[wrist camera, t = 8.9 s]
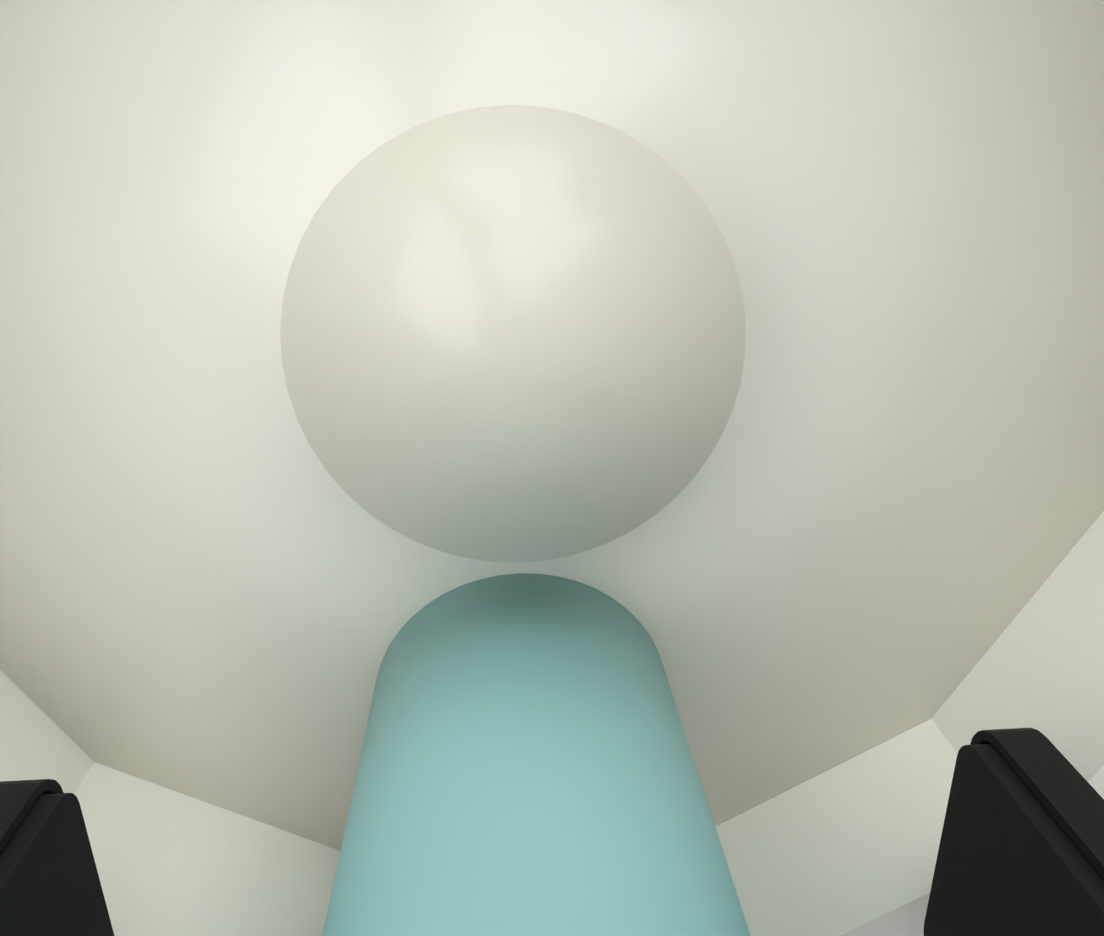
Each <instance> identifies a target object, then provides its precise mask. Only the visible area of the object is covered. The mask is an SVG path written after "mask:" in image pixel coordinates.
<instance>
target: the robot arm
mask: <svg viewBox="0 0 1104 936" xmlns="http://www.w3.org/2000/svg"><path fill="white" fill-rule="evenodd" d="M923 931H924V936H1104V799H1103V798H1102V797H1101V796H1100V795H1099V794H1098V793H1097V792H1096V790H1095V789H1094V788H1093V787H1092V786H1091V785H1090V784H1089V783H1088V782H1087V781H1086V780H1085V778H1084V777H1083V776H1082V775H1081V774H1080V773H1079V772H1078V771H1077V770H1076V769H1075V768H1074V767H1073V765H1072V764H1071V763H1070V762H1069V761H1068V760H1067V759H1066V758H1065V757H1064V756H1063V755H1062V753H1061V752H1060V751H1059V750H1058V749H1057V748H1056V747H1055V746H1054V745H1053V744H1052V743H1051V742H1050V740H1049V739H1048V738H1047V737H1046V736H1045V735H1043V734H1042V733H1041V732H1040V731H1039V730H1036V729H1033V728H1013V729H994V730H982V731H978V732H977V733H976V734H975V735H974V736H973V737H972V740H971V743H970V745H964V746H962V747H961V748H960V749H959V752H958V754H957V758H956V763H955V769H954V774H953V779H952V784H951V789H950V794H949V799H948V804H947V809H946V814H945V819H944V825H943V830H942V835H941V840H940V845H939V850H938V855H937V860H936V865H935V870H934V875H933V880H932V886H931V891H930V896H929V901H928V906H927V911H926V916H925V921H924V930H923ZM0 936H114V932H113V928H112V925H111V921H110V917H109V913H108V909H107V906H106V902H105V898H104V894H103V890H102V887H101V883H100V879H99V875H98V871H97V867H96V864H95V860H94V856H93V852H92V848H91V845H90V841H89V837H88V833H87V829H86V826H85V822H84V818H83V814H82V810H81V807H80V803H79V801H78V798H77V797H76V796H75V795H74V794H73V793H64V792H63V790H62V788H61V785H60V784H59V783H58V782H57V781H56V780H52V779H39V780H20V781H1V782H0Z"/></svg>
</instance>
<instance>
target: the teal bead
mask: <svg viewBox="0 0 1104 936" xmlns="http://www.w3.org/2000/svg"><path fill="white" fill-rule="evenodd" d="M323 936H751V935H750V932H749V929H748V926H747V923H746V920H745V917H744V914H743V911H742V908H741V905H740V901H739V898H738V895H737V892H736V889H735V886H734V883H733V880H732V877H731V874H730V871H729V867H728V864H727V861H726V858H725V855H724V852H723V849H722V846H721V843H720V840H719V837H718V834H717V830H716V827H715V824H714V821H713V818H712V815H711V812H710V809H709V806H708V803H707V800H706V797H705V793H704V790H703V787H702V784H701V781H700V778H699V775H698V772H697V769H696V766H695V763H694V760H693V756H692V753H691V750H690V747H689V744H688V741H687V738H686V735H685V732H684V729H683V726H682V723H681V719H680V716H679V713H678V710H677V707H676V704H675V701H674V698H673V695H672V692H671V689H670V686H669V682H668V679H667V676H666V673H665V670H664V667H663V664H662V661H661V658H660V656H659V653H658V650H657V648H656V646H655V644H654V642H653V640H652V639H651V637H650V635H649V633H648V632H647V631H646V629H645V628H644V627H643V626H642V624H641V623H640V622H639V620H638V619H637V618H636V617H635V616H634V615H633V614H632V613H631V612H629V611H628V610H627V609H626V608H625V607H624V606H622V605H621V604H620V603H618V602H617V601H616V600H614V599H613V598H612V597H610V596H608V595H606V594H604V593H603V592H601V591H599V590H597V589H595V588H593V587H590V586H588V585H585V584H583V583H580V582H578V581H574V580H570V579H566V578H563V577H559V576H552V575H544V574H526V573H517V574H507V575H498V576H493V577H488V578H484V579H479V580H476V581H473V582H470V583H467V584H464V585H462V586H459V587H457V588H455V589H453V590H451V591H449V592H447V593H444V594H442V595H441V596H439V597H438V598H436V599H435V600H433V601H431V602H430V603H428V604H427V605H425V606H424V607H423V608H422V609H421V610H419V611H418V612H417V613H416V614H415V615H414V616H412V617H411V618H410V619H409V621H408V622H407V623H406V624H405V625H404V626H403V627H402V628H401V629H400V631H399V632H398V633H397V635H396V636H395V638H394V639H393V641H392V642H391V644H390V645H389V647H388V649H387V651H386V653H385V655H384V658H383V660H382V662H381V665H380V669H379V672H378V675H377V679H376V684H375V689H374V693H373V698H372V703H371V708H370V712H369V717H368V722H367V727H366V731H365V736H364V741H363V746H362V750H361V755H360V760H359V765H358V770H357V774H356V779H355V784H354V789H353V793H352V798H351V803H350V808H349V812H348V817H347V822H346V827H345V831H344V836H343V841H342V846H341V851H340V855H339V860H338V865H337V870H336V874H335V879H334V884H333V889H332V893H331V898H330V903H329V908H328V912H327V917H326V922H325V927H324V932H323Z"/></svg>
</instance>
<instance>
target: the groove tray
mask: <svg viewBox="0 0 1104 936" xmlns="http://www.w3.org/2000/svg"><path fill="white" fill-rule="evenodd" d="M517 573H526V574H544V575H552V576H559V577H563V578H566V579H570V580H574V581H578V582H580V583H583V584H585V585H588V586H590V587H593V588H595V589H597V590H599V591H601V592H603V593H604V594H606V595H608V596H610V597H612V598H613V599H614V600H616V601H617V602H618V603H620V604H621V605H622V606H624V607H625V608H626V609H627V610H628V611H629V612H631V613H632V614H633V615H634V616H635V617H636V618H637V619H638V620H639V622H640V623H641V624H642V626H643V627H644V628H645V629H646V631H647V632H648V633H649V635H650V637H651V639H652V640H653V642H654V644H655V646H656V648H657V650H658V653H659V656H660V658H661V661H662V664H663V667H664V670H665V673H666V676H667V679H668V682H669V686H670V689H671V692H672V695H673V698H674V701H675V704H676V707H677V710H678V713H679V716H680V719H681V723H682V726H683V729H684V732H685V735H686V738H687V741H688V744H689V747H690V750H691V753H692V756H693V760H694V763H695V766H696V769H697V772H698V775H699V778H700V781H701V784H702V787H703V790H704V793H705V797H706V800H707V803H708V806H709V809H710V812H711V815H712V818H713V821H714V824H715V827H716V830H717V834H718V837H719V840H720V843H721V846H722V849H723V852H724V855H725V858H726V861H727V864H728V867H729V871H730V874H731V877H732V880H733V883H734V886H735V889H736V892H737V895H738V898H739V901H740V905H741V908H742V911H743V914H744V917H745V920H746V923H747V926H748V929H749V932H750V935H751V936H924V931H923V930H924V921H925V916H926V911H927V906H928V901H929V896H930V891H931V886H932V880H933V875H934V870H935V865H936V860H937V855H938V850H939V845H940V840H941V835H942V830H943V825H944V819H945V814H946V809H947V804H948V799H949V794H950V789H951V784H952V779H953V774H954V769H955V763H956V758H957V754H958V752H959V749H960V748H961V747H962V746H964V745H970V743H971V740H972V737H973V736H974V735H975V734H976V733H977V732H978V731H982V730H994V729H1013V728H1033V729H1036V730H1039V731H1040V732H1041V733H1042V734H1043V735H1045V736H1046V737H1047V738H1048V739H1049V740H1050V742H1051V743H1052V744H1053V745H1054V746H1055V747H1056V748H1057V749H1058V750H1059V751H1060V752H1061V753H1062V755H1063V756H1064V757H1065V758H1066V759H1067V760H1068V761H1069V762H1070V763H1071V764H1072V765H1073V767H1074V768H1075V769H1076V770H1077V771H1078V772H1079V773H1080V774H1081V775H1082V776H1083V777H1084V778H1085V780H1086V781H1087V782H1088V783H1089V784H1090V785H1091V786H1092V787H1093V788H1094V789H1095V790H1096V792H1097V793H1098V794H1099V795H1100V796H1101V797H1102V798H1103V799H1104V0H0V782H1V781H20V780H39V779H52V780H56V781H57V782H58V783H59V784H60V785H61V788H62V790H63V792H64V793H73V794H74V795H75V796H76V797H77V798H78V801H79V803H80V807H81V810H82V814H83V818H84V822H85V826H86V829H87V833H88V837H89V841H90V845H91V848H92V852H93V856H94V860H95V864H96V867H97V871H98V875H99V879H100V883H101V887H102V890H103V894H104V898H105V902H106V906H107V909H108V913H109V917H110V921H111V925H112V928H113V932H114V936H323V932H324V927H325V922H326V917H327V912H328V908H329V903H330V898H331V893H332V889H333V884H334V879H335V874H336V870H337V865H338V860H339V855H340V851H341V846H342V841H343V836H344V831H345V827H346V822H347V817H348V812H349V808H350V803H351V798H352V793H353V789H354V784H355V779H356V774H357V770H358V765H359V760H360V755H361V750H362V746H363V741H364V736H365V731H366V727H367V722H368V717H369V712H370V708H371V703H372V698H373V693H374V689H375V684H376V679H377V675H378V672H379V669H380V665H381V662H382V660H383V658H384V655H385V653H386V651H387V649H388V647H389V645H390V644H391V642H392V641H393V639H394V638H395V636H396V635H397V633H398V632H399V631H400V629H401V628H402V627H403V626H404V625H405V624H406V623H407V622H408V621H409V619H410V618H411V617H412V616H414V615H415V614H416V613H417V612H418V611H419V610H421V609H422V608H423V607H424V606H425V605H427V604H428V603H430V602H431V601H433V600H435V599H436V598H438V597H439V596H441V595H442V594H444V593H447V592H449V591H451V590H453V589H455V588H457V587H459V586H462V585H464V584H467V583H470V582H473V581H476V580H479V579H484V578H488V577H493V576H498V575H507V574H517Z"/></svg>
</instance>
